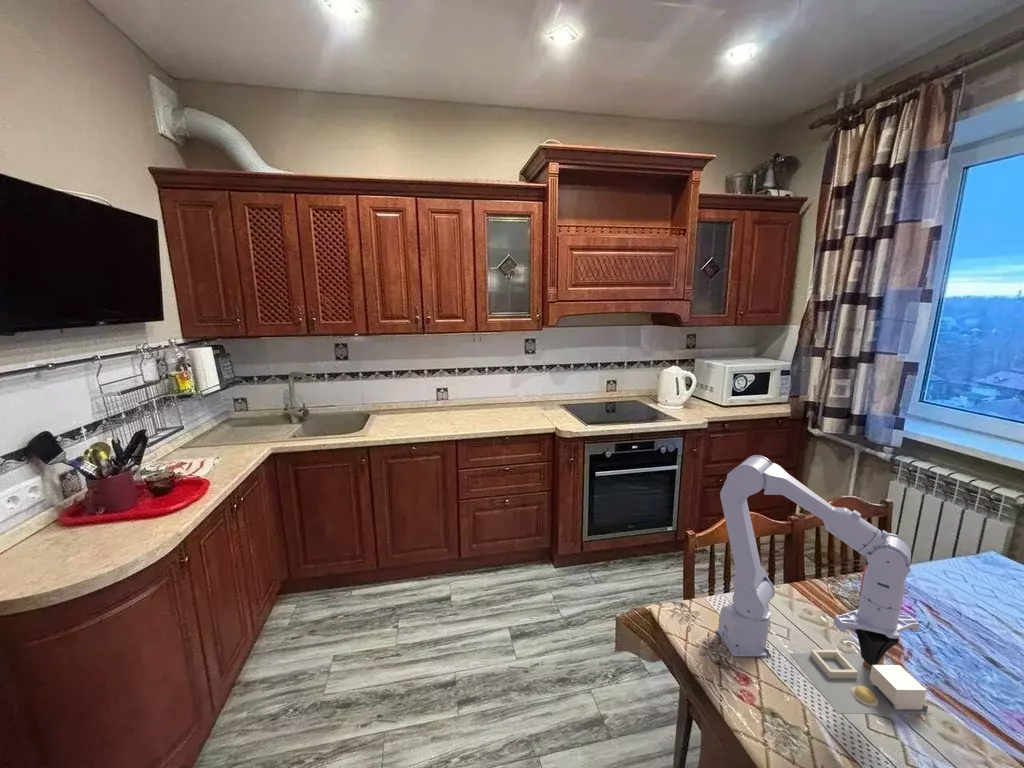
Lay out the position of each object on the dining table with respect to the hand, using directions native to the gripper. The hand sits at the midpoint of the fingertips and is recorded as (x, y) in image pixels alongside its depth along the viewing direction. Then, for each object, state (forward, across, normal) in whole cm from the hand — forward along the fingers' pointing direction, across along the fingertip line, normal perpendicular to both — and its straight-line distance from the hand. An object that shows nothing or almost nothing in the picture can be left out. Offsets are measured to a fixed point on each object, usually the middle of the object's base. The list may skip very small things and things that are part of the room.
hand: (868, 660), depth 81 cm
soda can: (+10, +26, +26) cm, 38 cm away
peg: (+8, +8, +7) cm, 13 cm away
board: (+9, +2, +4) cm, 10 cm away
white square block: (+8, +6, 0) cm, 10 cm away
